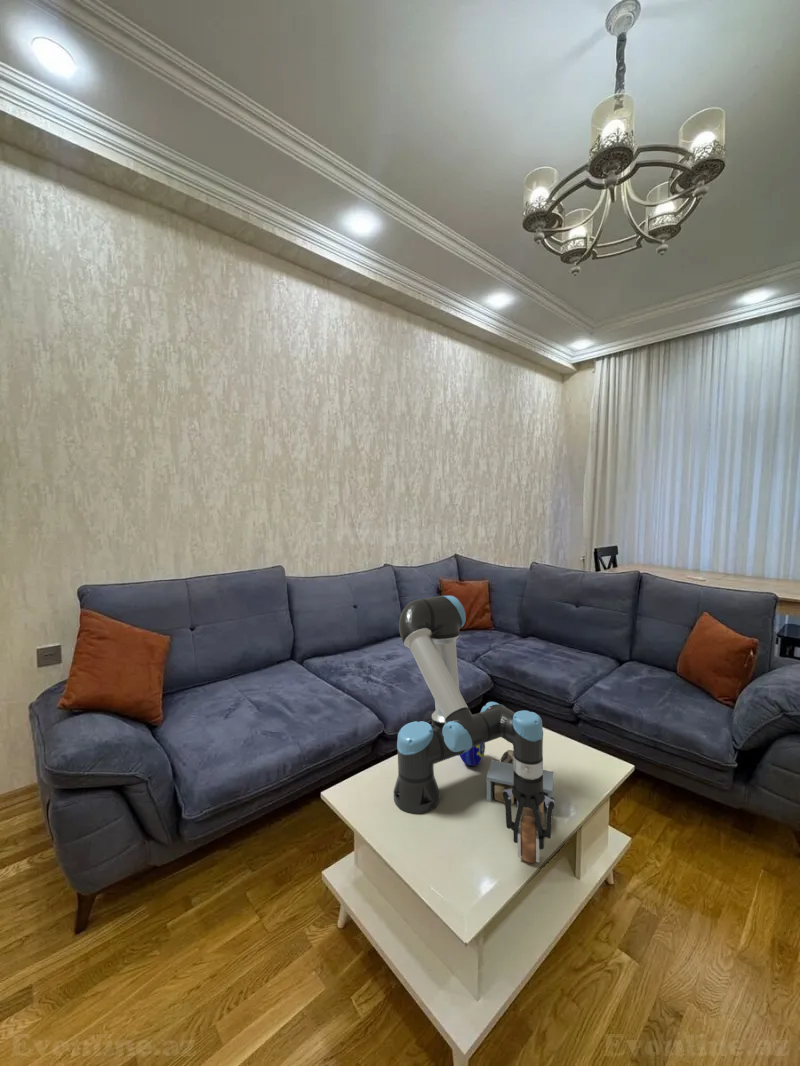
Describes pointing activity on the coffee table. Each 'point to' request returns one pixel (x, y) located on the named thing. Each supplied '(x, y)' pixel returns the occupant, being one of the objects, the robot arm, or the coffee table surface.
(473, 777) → the coffee table surface
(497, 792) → the oak block
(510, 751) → the stone
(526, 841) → the tethered block
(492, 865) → the coffee table surface
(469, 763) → the ornament
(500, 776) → the cubby shelf
